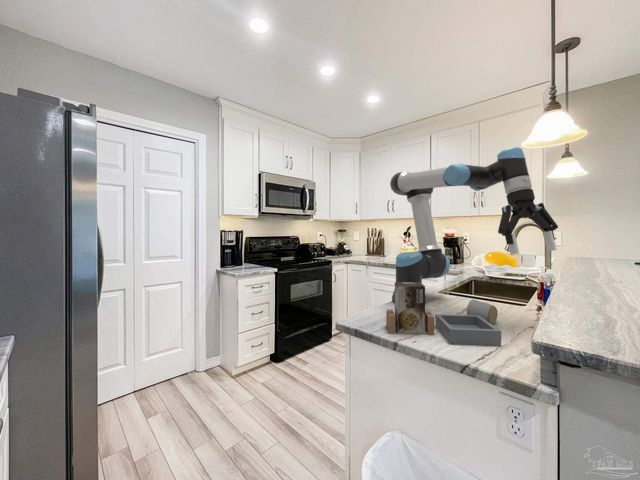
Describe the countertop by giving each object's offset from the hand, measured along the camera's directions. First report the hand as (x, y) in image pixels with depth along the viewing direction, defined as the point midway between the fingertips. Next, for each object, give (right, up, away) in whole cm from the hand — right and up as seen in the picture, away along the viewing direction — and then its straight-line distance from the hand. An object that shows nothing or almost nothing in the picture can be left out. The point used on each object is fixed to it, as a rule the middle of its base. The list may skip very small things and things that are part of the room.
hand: (533, 252), depth 89 cm
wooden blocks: (-40, -27, +3) cm, 48 cm away
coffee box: (-40, -27, +3) cm, 48 cm away
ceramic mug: (-10, -27, +12) cm, 31 cm away
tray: (-24, -27, -2) cm, 36 cm away
